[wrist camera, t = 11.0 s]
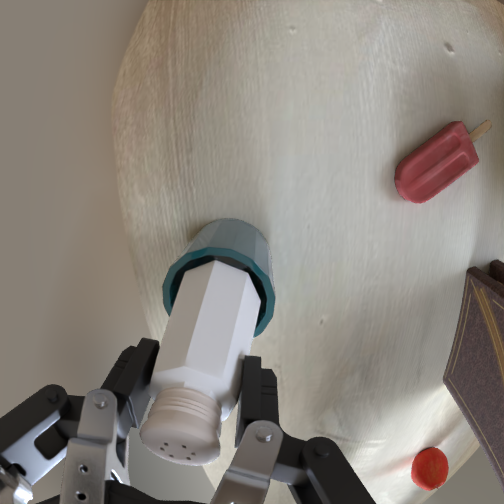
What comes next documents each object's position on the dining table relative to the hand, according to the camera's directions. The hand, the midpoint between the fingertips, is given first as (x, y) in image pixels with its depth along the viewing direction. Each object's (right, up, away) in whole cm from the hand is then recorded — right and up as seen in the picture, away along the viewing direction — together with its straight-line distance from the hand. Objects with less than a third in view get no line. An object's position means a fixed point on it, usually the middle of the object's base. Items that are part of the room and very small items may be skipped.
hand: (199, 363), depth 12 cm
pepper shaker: (0, +2, +6) cm, 6 cm away
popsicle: (+21, +15, +9) cm, 28 cm away
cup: (0, +4, +13) cm, 14 cm away
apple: (+39, -38, +27) cm, 60 cm away
